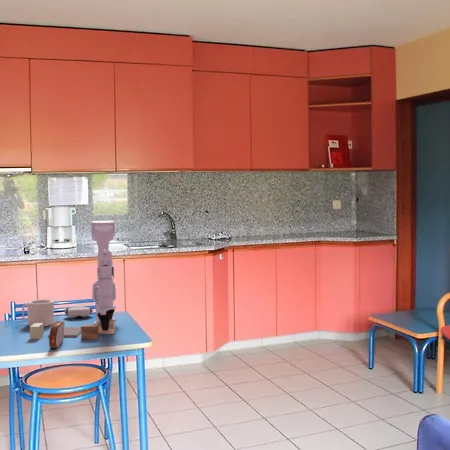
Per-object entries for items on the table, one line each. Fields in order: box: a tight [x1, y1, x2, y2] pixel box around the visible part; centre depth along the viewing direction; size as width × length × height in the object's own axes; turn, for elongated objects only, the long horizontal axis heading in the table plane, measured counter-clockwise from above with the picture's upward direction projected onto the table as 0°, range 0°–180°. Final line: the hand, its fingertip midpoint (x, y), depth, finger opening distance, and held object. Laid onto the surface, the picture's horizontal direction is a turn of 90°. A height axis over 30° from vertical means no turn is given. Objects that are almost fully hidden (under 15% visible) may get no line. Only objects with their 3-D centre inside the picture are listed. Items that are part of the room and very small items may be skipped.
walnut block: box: [80, 323, 100, 340], centre depth 224 cm, size 4×6×5 cm, turn 92°
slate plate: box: [48, 326, 81, 338], centre depth 232 cm, size 13×11×1 cm
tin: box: [48, 320, 65, 349], centre depth 214 cm, size 15×3×8 cm, turn 4°
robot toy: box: [64, 305, 94, 319], centre depth 264 cm, size 12×4×15 cm
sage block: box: [29, 323, 45, 340], centre depth 226 cm, size 4×6×5 cm, turn 2°
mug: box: [21, 298, 55, 327], centre depth 247 cm, size 14×11×10 cm
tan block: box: [98, 319, 116, 335], centre depth 233 cm, size 4×6×5 cm, turn 92°
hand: (106, 328), depth 233 cm, fingers open, 5 cm apart
